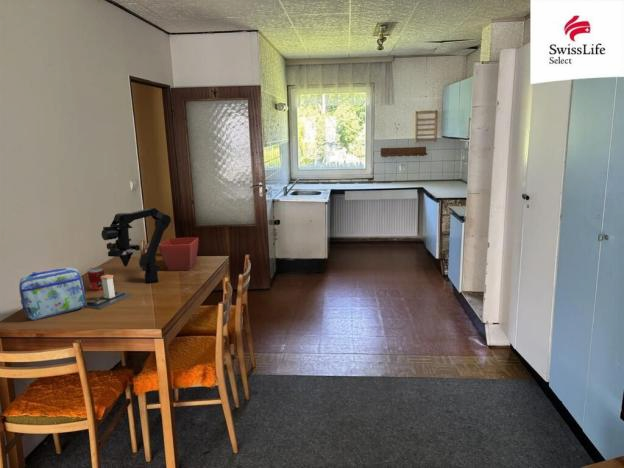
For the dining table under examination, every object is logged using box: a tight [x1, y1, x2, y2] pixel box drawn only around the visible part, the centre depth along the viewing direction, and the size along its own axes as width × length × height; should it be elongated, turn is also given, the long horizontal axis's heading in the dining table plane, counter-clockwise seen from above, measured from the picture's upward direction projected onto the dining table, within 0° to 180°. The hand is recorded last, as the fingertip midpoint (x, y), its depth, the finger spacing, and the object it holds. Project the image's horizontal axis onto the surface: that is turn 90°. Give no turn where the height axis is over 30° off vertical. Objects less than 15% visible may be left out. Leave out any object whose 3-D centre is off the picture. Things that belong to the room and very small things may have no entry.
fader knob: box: [100, 274, 115, 299], centre depth 234 cm, size 4×4×11 cm
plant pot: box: [158, 237, 199, 272], centre depth 285 cm, size 19×19×17 cm
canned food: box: [87, 266, 105, 292], centre depth 253 cm, size 8×8×11 cm
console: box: [83, 290, 133, 310], centre depth 234 cm, size 20×12×3 cm, turn 156°
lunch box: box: [18, 267, 87, 321], centre depth 219 cm, size 26×11×21 cm, turn 123°
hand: (125, 266), depth 248 cm, fingers closed
